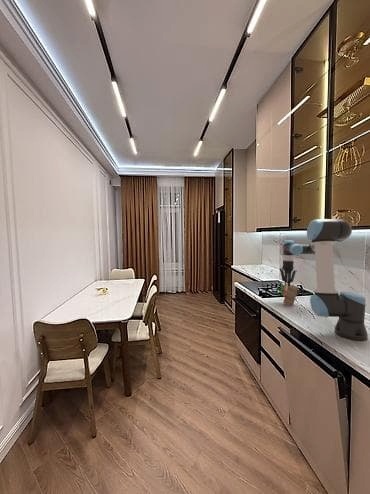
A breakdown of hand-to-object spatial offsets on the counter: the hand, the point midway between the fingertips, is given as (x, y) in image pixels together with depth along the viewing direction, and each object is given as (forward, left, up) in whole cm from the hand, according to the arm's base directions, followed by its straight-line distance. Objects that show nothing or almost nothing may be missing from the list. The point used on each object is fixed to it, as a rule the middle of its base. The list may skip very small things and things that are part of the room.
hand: (287, 290), depth 186 cm
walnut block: (0, -1, -10) cm, 10 cm away
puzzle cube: (+24, +11, -11) cm, 29 cm away
